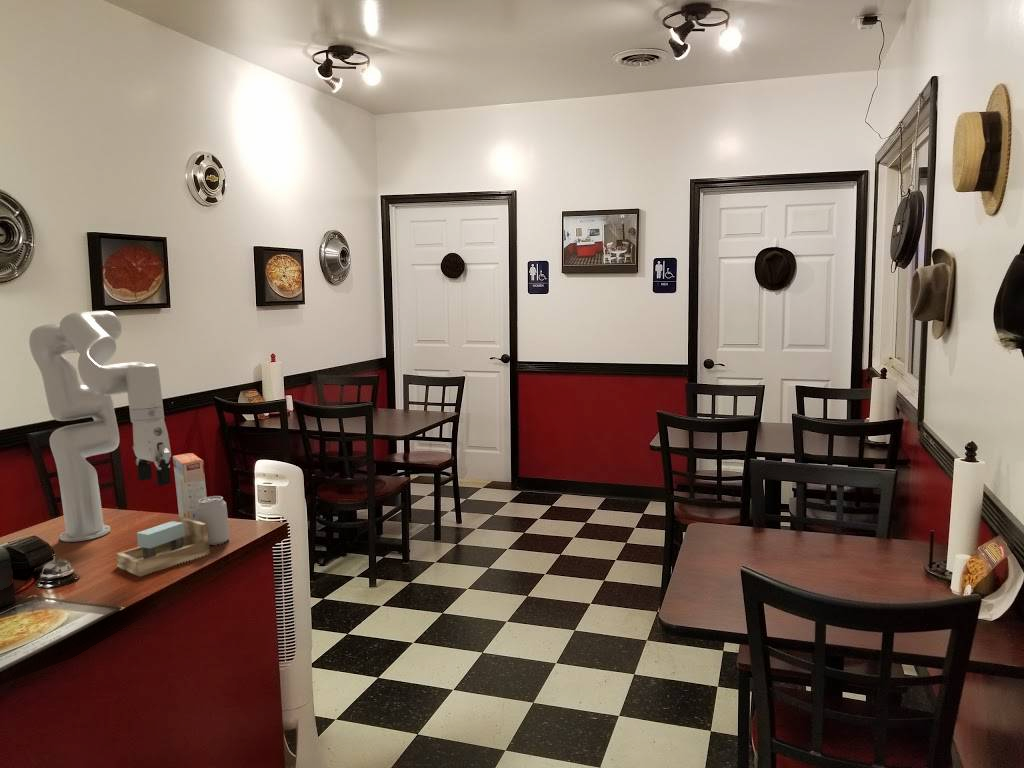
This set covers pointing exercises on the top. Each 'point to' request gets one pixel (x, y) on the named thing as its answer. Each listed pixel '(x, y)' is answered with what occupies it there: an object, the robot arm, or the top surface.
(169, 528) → the block
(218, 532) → the can
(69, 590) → the top surface
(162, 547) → the wooden drawer
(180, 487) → the cracker box
